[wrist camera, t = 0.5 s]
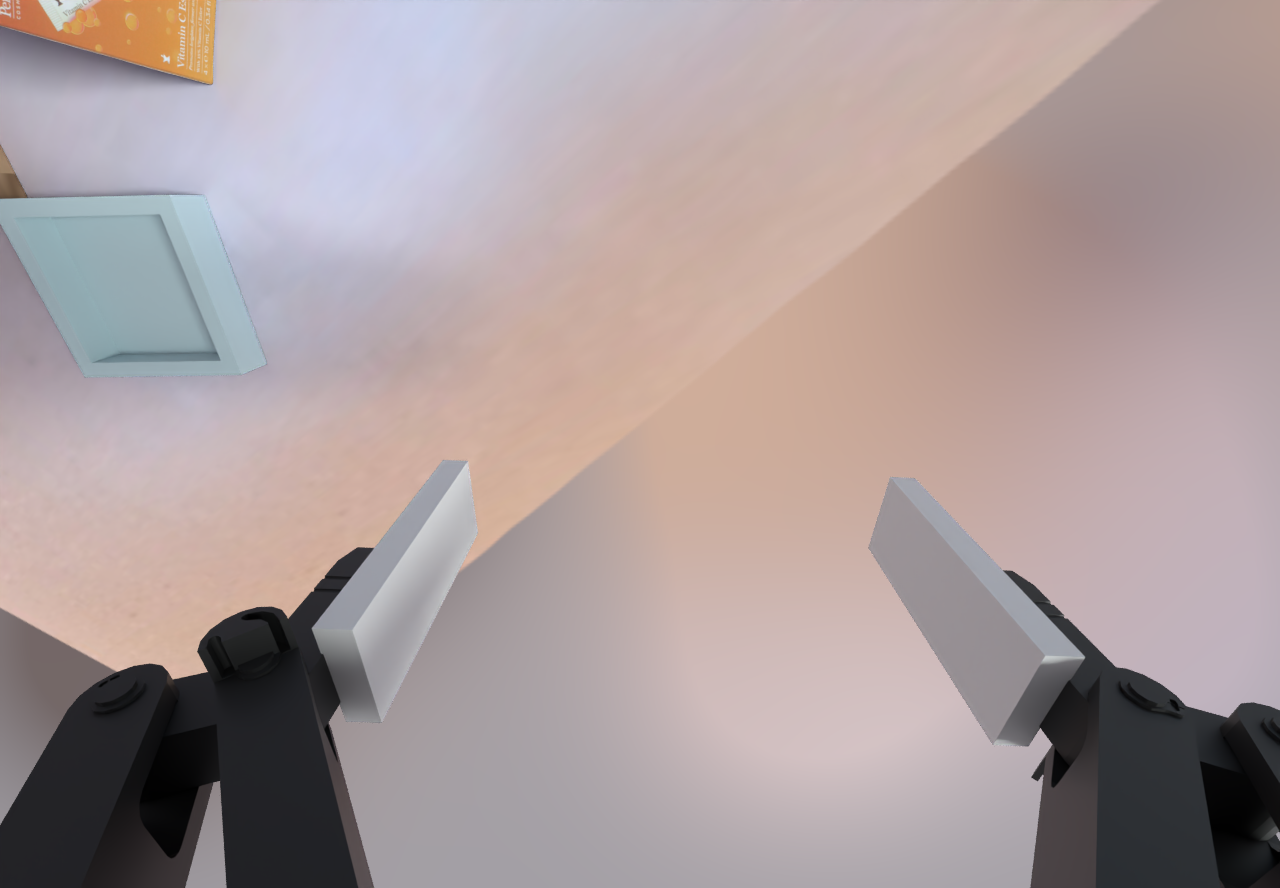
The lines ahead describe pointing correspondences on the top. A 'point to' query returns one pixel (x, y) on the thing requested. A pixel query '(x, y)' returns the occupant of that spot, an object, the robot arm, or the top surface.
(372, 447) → the top surface
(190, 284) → the tray
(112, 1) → the small box
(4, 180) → the socket block
